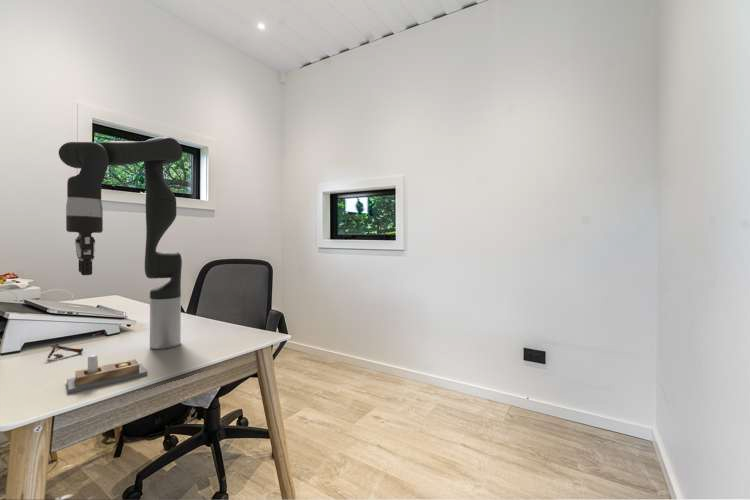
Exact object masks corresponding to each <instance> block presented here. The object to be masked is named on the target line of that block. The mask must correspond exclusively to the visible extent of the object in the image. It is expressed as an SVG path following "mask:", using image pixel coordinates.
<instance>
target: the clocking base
mask: <svg viewBox="0 0 750 500" xmlns="http://www.w3.org/2000/svg"><path fill="white" fill-rule="evenodd" d="M98 359H99V355H98V354H91V355H89V356H87V369H88V374H92V373H96V372H98V367H99V360H98ZM138 364H139V372H136V373H132V374H127V375H123V376H119V377H114V378H110V379H105V380H101V381H97V382H92V383H88V384H83V385H79V386H77V384H76V376H75V377H71V378H66V384H67V392H68V394H74V393H77V392H82V391H85V390H90V389H93V388H98V387H102V386H107V385H111V384H115V383H116V384H117V383H119V382H124V381H128V380H132V379H136V378H142V377H145V376H148V370H147V369H146V368H145V367H144V365H143V364H142V363H138ZM125 366H128V364H127V363H125V364H120V365H119V368H120V367H125Z"/></svg>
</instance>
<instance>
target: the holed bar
mask: <svg viewBox="0 0 750 500" xmlns="http://www.w3.org/2000/svg"><path fill="white" fill-rule="evenodd" d="M125 363H127V364H128V366H125V367H120V368H119V365H120V364H125ZM139 364H140V363H139V362H138V361H137V359H135V358H134V359H130V360H125V361H119V362H114V363H111V364H110V363H109V364H105V365H100V366H99V365H98V372H96V373H92V374H88V368H86V369H85V368H84V369H79V370H76V371H75V377H76V384H77V386H79V385H83V384H88V383H92V382H97V381H101V380H105V379H110V378H114V377H119V376H123V375H127V374H132V373H136V372H139Z"/></svg>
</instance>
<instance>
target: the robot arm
mask: <svg viewBox="0 0 750 500" xmlns="http://www.w3.org/2000/svg"><path fill="white" fill-rule="evenodd" d="M58 156H59V157H58V158H59V159H60V161H61V162H62V163H63V164H65V165H66V166H67V167H70V168H74V169H80V170H79V172H78V173H77V174H76V175H73V176H70V177H69V178H68V179H67V182H66V185H67V186H66V187H67V188H66V190H67V192H66V193H67V194H66V197H67V198H66V203H65V217H66V218H65V223H66V225H65V226H66V227H65V228H66V229H65V230H66V232H68V233H78V235H77V237H76V238H75V239H74V244H75V253H76V256H77V257H76V258H77V259H78V272H79V273H80V274H81V275H82V276H91V275H92V274H93V261H94V258H95V250H96V249H95V246H96V239H95V238H94V236H92V234H96V233H97V234H98V233H99V234H101V233H102V232H104V231H103V229H104V227H103V224H104V222H103V221H104V220H103V216H104V215H103V211H104V210H103V202H102V185H103V182H104V180H105V177H106V173H107V170H108V167H109V166H111V167H114V166H115V167H116V166H126V165H127V166H128V165H132V164H134V165H135V164H139V163H143V165H144V175H145V226H146V227H145V229H146V234H145V235H146V237H145V238H146V239H145V251H144V273H145V276H146V278H148V279H170V280H169V281H167V282H166V283H164V284H163V285H160V286H158V287H155V288H152V289H151V290H150V292H149V348H150V349H152V350H153V349H154V350H163V349H169V348H174V347H178V346H179V345H180V344H181V338H182V337H181V332H182V331H181V330H182V326H181V324H182V322H181V321H182V319H181V318H182V315H181V314H182V313H181V312H182V311H181V310H182V309H181V307H182V304H181V300H182V298H181V297H182V293H181V292H182V291H181V290H182V287H181V283H182V281H181V280H182V269H183V267H182V266H183V260H182V256H181V254H180V252H179V251H157V247H158V246H159V242H160V241H161V240H162V237H164V235H165V233H166V232H167V231H168V229H169V228H170V227H171V226H172V224H173V223H174V222H175V220H176V218H177V198H176V196H175V193H174V192H173V191H172V189H171V188H170V186H169V185H168V183H167V182H166V180H165V177H164V165H168V164H174V163H177V162H179V161H180V160H181V159H182V157H183V149H182V146H181V145H180V142H178V140H177V139H175V138H173V137H169V136H161V137H154V138H149V139H147V140H145V141H143V140H141V141H132V140H131V141H128V140H127V141H126V140H125V141H123V140H121V141H120V140H118V141H117V140H116V141H115V140H113V141H102V142H95V141H94V142H93V141H68V142H65V143H64V144H62V145H61V146H60V148H59V149H58Z"/></svg>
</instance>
